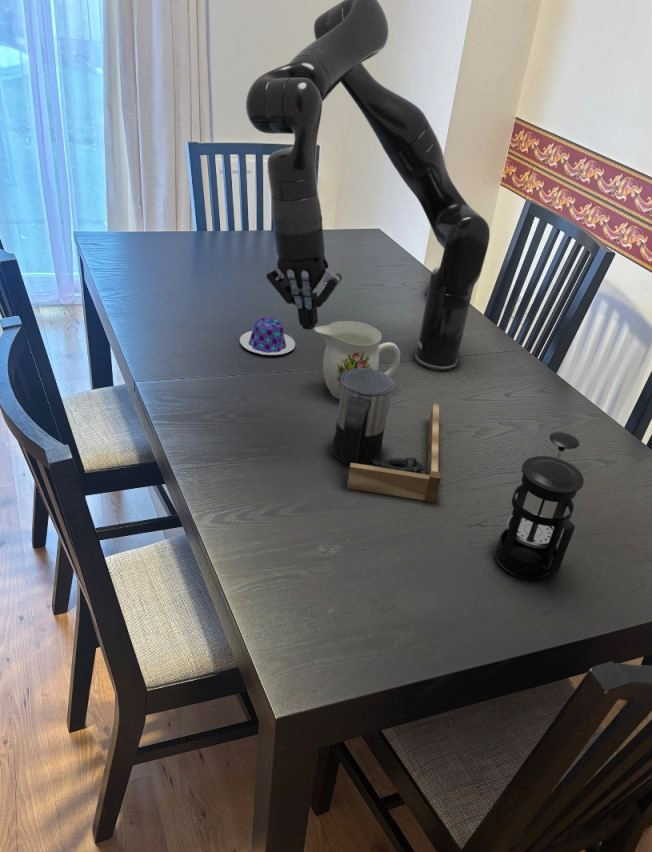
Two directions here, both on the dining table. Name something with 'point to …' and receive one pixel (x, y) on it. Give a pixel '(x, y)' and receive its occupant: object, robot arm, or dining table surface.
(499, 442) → the dining table surface
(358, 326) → the pitcher
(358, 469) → the corner rail
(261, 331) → the pudding
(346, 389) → the milk frother
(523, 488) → the french press
